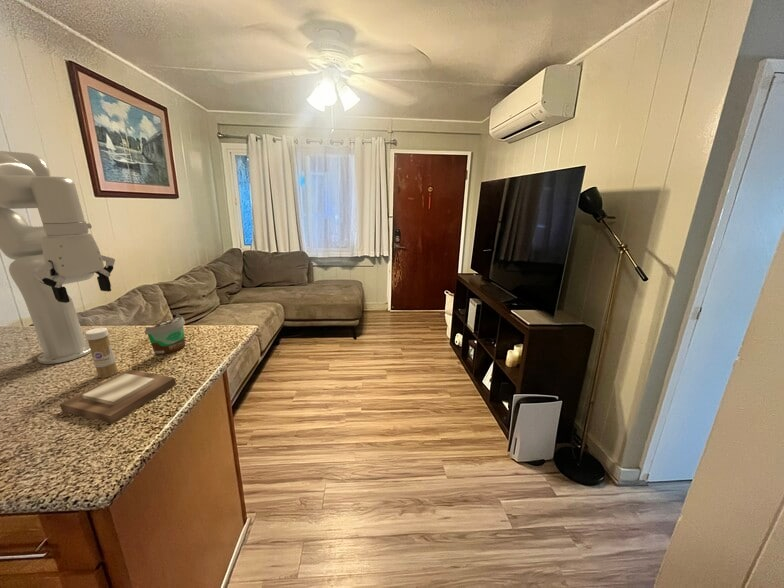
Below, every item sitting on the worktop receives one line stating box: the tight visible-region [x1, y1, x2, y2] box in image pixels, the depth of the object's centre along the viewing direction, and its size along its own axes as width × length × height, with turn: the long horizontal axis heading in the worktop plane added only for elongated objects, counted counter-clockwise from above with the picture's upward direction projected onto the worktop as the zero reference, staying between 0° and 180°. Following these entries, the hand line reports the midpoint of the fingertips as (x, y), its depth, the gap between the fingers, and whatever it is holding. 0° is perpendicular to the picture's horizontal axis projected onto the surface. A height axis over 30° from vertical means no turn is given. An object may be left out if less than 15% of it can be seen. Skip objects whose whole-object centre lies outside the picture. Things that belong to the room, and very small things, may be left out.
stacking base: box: [59, 368, 177, 424], centre depth 81 cm, size 16×16×3 cm
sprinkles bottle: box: [84, 327, 119, 379], centre depth 89 cm, size 5×5×13 cm
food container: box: [144, 313, 186, 356], centre depth 104 cm, size 12×6×10 cm, turn 168°
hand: (86, 296), depth 85 cm, fingers open, 9 cm apart
